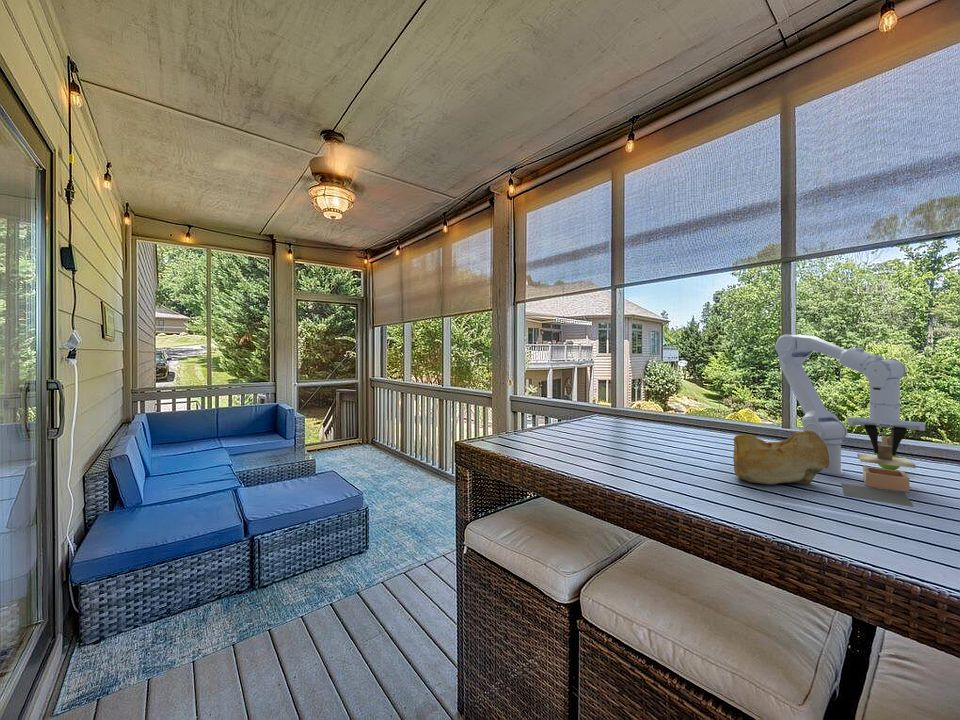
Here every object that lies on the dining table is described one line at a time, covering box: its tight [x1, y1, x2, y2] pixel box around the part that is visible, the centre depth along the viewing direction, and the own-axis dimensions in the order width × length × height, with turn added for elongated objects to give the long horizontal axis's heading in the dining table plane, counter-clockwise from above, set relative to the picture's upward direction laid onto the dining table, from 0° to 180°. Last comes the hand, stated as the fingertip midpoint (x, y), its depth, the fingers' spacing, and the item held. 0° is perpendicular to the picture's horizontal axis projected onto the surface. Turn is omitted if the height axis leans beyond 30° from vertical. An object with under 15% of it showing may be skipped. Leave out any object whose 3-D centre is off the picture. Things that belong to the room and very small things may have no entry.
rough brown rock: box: [732, 430, 829, 485], centre depth 115 cm, size 23×16×15 cm
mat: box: [840, 483, 915, 508], centre depth 100 cm, size 12×12×1 cm
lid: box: [856, 444, 917, 469], centre depth 106 cm, size 10×10×4 cm
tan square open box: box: [862, 465, 910, 493], centre depth 107 cm, size 8×8×4 cm
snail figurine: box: [877, 432, 901, 470], centre depth 122 cm, size 5×6×12 cm
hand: (884, 453), depth 107 cm, fingers closed on lid, 3 cm apart
